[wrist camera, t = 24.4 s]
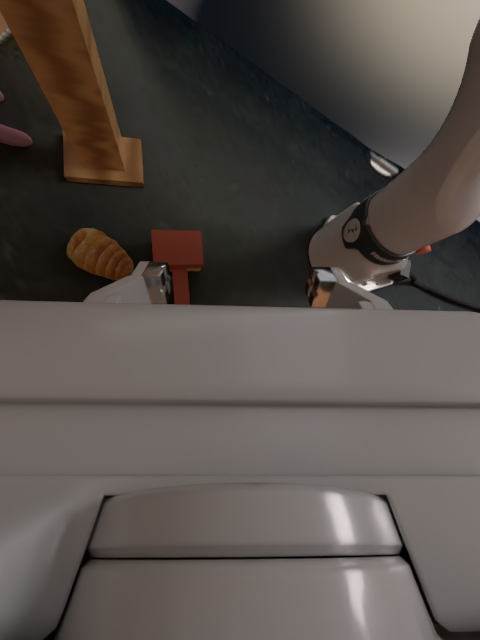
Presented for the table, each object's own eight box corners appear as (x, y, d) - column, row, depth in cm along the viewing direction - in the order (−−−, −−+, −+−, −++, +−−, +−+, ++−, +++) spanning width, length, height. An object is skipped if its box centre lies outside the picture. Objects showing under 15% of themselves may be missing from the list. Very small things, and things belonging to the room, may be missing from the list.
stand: (141, 144, 41) (82, -168, 16) (144, 187, 40) (85, -76, 15) (66, 135, 38) (-151, -272, 13) (67, 181, 37) (-163, -162, 12)
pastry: (144, 260, 39) (140, 251, 35) (120, 292, 37) (113, 286, 33) (93, 229, 37) (83, 216, 34) (66, 261, 36) (53, 251, 32)
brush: (199, 241, 42) (200, 230, 38) (207, 329, 40) (209, 326, 36) (153, 240, 40) (150, 229, 36) (160, 333, 38) (157, 331, 34)
